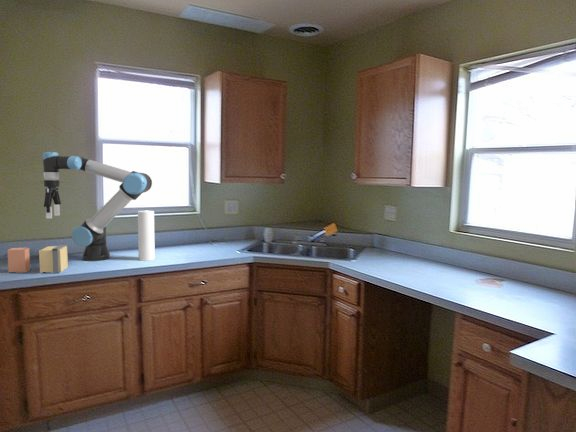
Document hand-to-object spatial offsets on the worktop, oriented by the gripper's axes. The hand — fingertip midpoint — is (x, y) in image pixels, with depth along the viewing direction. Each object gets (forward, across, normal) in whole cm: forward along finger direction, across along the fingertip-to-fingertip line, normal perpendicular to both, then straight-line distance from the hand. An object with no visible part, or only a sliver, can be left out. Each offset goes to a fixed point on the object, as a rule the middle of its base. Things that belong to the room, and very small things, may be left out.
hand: (53, 217), depth 236 cm
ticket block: (+27, +18, +5) cm, 33 cm away
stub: (+27, +18, -12) cm, 34 cm away
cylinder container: (+27, -4, +50) cm, 57 cm away
